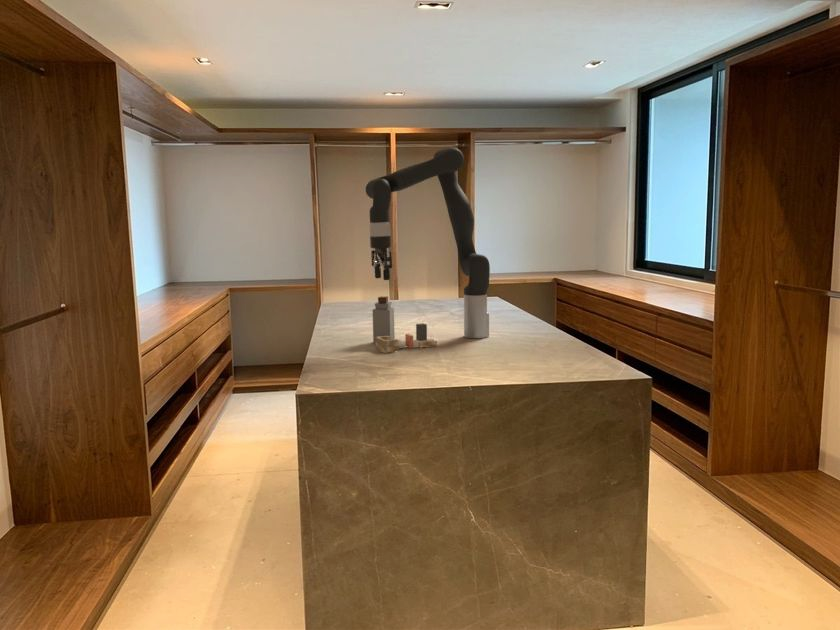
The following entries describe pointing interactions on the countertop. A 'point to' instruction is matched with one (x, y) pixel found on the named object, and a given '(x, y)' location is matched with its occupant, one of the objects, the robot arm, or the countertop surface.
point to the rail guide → (428, 344)
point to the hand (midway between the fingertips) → (382, 279)
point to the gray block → (417, 336)
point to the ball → (401, 343)
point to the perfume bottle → (383, 319)
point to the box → (386, 344)
